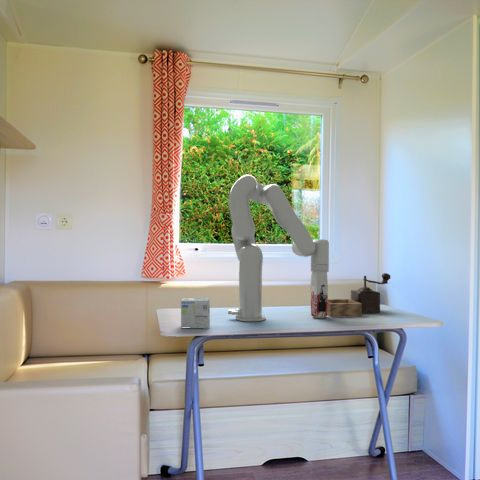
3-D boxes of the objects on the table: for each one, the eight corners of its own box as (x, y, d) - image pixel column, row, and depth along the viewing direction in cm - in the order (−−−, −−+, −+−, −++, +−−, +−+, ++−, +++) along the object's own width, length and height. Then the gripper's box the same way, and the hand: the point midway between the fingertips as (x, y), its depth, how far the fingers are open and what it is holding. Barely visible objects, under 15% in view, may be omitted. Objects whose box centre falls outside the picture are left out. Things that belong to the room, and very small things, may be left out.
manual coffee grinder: (359, 313, 186) (359, 273, 186) (350, 309, 197) (350, 271, 197) (392, 313, 188) (392, 273, 188) (381, 309, 199) (381, 271, 199)
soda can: (327, 319, 173) (327, 290, 173) (310, 318, 174) (310, 289, 174) (327, 316, 180) (327, 288, 180) (311, 315, 181) (311, 288, 181)
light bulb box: (209, 325, 162) (209, 297, 162) (209, 328, 155) (209, 300, 155) (182, 325, 161) (182, 297, 161) (180, 329, 155) (180, 300, 155)
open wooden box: (330, 316, 179) (330, 304, 179) (320, 311, 193) (320, 299, 193) (361, 316, 180) (361, 303, 180) (349, 310, 194) (349, 298, 194)
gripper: (305, 266, 185) (305, 306, 185) (317, 269, 168) (316, 313, 168) (321, 266, 186) (321, 306, 186) (335, 269, 169) (334, 313, 169)
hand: (319, 309), depth 177 cm, fingers closed on soda can, 6 cm apart
